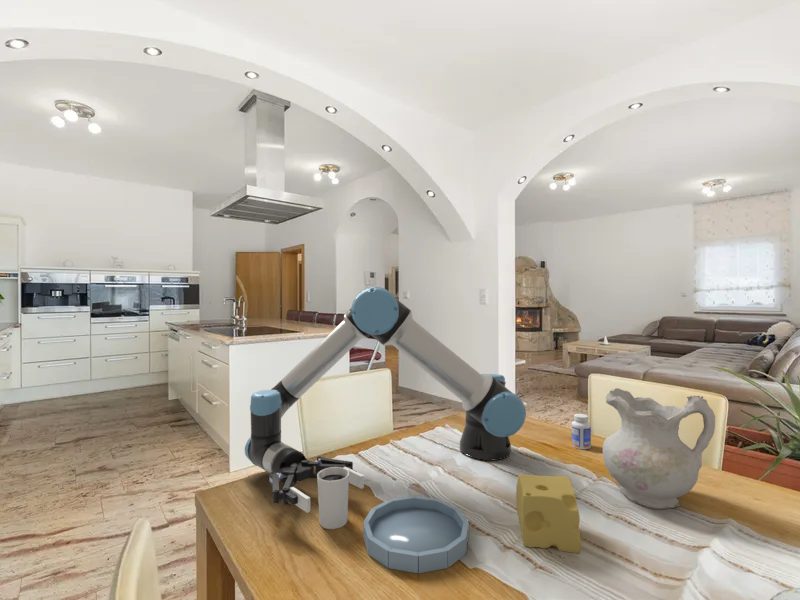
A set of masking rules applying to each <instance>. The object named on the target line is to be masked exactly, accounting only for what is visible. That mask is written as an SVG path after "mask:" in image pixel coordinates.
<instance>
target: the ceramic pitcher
mask: <svg viewBox="0 0 800 600" xmlns="http://www.w3.org/2000/svg"><path fill="white" fill-rule="evenodd" d="M686 399H687V402H686V403H685V405H684V406H683V407H678V406H675V405H663V404H661V403H659V402H658V401H655V400H654V399H653V398H651V397H644V396H643V397H642V396H641V397H635V396H633V394H632V393H631V392H630V391H628V390H624V389H621V388H617V387H616V388H613V389H611V390H609V392H608V393H607V394H606V396H605V403H606V404H607V405H609V406H610V407H613V408H614V409H615V410H616V411H617V412H618V414H619V417H620V419H621V423H620V424H621V425H620V428H619V429H618V430H617V431H616V432H614V433H612V434H610V435H608V436H607V437H606V438H605V440H604V441H603V445H602V458H603V463H604V466H605V468H606V470H607V471H608V473H609V474H610V476H611V477H612V478H613V479H614V480H615V481H616V482H617V483H618V484H617V488H618V487H619V488H620V489H619V488H618V489H619V490H620V492H621V493H622V494H623V495H624V496H625V497H626V498H627V499H628V500H629V501H631V502H632V503H636V504H637V505H640V506H644V507H647V508H649V509H652V510H662V509H663V510H665V509H674V508H677V507H680V506H681V504H680V502H679V500H678V498H679V497H680V498H681V497H683V496H685V495H686V494H688V493H689V492H690V491H692V489H693V488H694V486H695V485H696V483H697V481H698V479H699V472H700V469H701V468H702V466H703V465H702V464H703V462H702V459H703V453H704V451H705V450H706V449H707V448H708V446H709V444H710V442H711V439H712V438H713V437H714V434H715V430H716V414H715V412H714V410H713V409H712V407H710V405H709V403H708V401H707V399H704V396H700V395H689V396H686ZM698 413H699V414H700V415H701V416H702V419H703V420H702V421H703V428H702V431H701V432H700V434H699V436H698V438H697V440H696V443H695V445H694V447H693V448H690V447H689V446H688V445H687V444H685V443H684V442H683V441H682V440H681V438H680V436H679V429H680V423H681V421H682V419H685V418H687V417H688V416H691V415H693V414H698Z"/></svg>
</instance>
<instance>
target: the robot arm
mask: <svg viewBox="0 0 800 600" xmlns="http://www.w3.org/2000/svg"><path fill="white" fill-rule="evenodd" d="M412 313H413V312H412V310H411V309H410V308H409V307H407V306H406V305H405V304H404V303H402V302H401V301H400V300H399V299H398V298H396V297H395V295H394V294H393V293H392V292H390V291H389V290H387V289H386V288H384V287H381V286H380V287H379V286H370V287H367V288H364V289H363V290H361V291H360V292H359V293H358V294H357V295H356V297H355V298H354V300H353V301H352V305H351V307H350V309H348V310H347V312H346V313H344V314H343V320H342V321H341V322H339V324H338V325H337V326H336V327H335V328H334V329H333V330H332V331H331V332H330V333H328V335H326V337H325V338H324V339H322V341H320V342H319V343H318V344H317V345H316V346H314V348H313V349H312V350H311V351H310V352H309V353H308V354H307V355H306V356H305V357H304V358H302V360H301V361H299V362H298V363H297V364H296V365H295V366H294V367H293V368H292V369H291V370H290V371H289V372H288V373H287V374H286V375H284V377H283V378H282V379H281V380H280V381H278V383H276V385H275V386H273V387H272V388H271V389H262V390H258V391H255V392H253V393H252V395H250V405H249V411H250V437H249V438H248V439H247V440H246V441H247V442H246V443H245V446H244V455H245V456H246V458H247V460H249V461H250V462H251V463H252V464H253V465H254V466H257V467H258V468H260V469H262V470H264V471H265V472H267V473H268V474H269V475H268V477H269V486H271V487H272V503H273V504H279V503H280V501H282V505H283V506H287V505H289V504H290V505H291V506H292V505H293V506H294V505H295V506H297V507H298V508H299V509H301V510H302V511H303V512H305V513H307V514H308V513H310V512H311V497H310V496H309V495H307V494H305V493H304V492H302V491H300V490H299V489H297V488H296V484H297V482H302V481H303V482H304V480H307V479H317V474H318V473H319V472H320V471H321V470H323V469H326V468H330V467H341V468H344V469H347V470H348V471H349V483H350V484H351V485H353V486H355V487H356V488H359V489H361V490H362V489H364V488H365V479H364V478H365V475H363V474H362V473H360V472H358V471H356V469H354V463H353V461H349V460H342V459H335V458H327V457H324V456H323V455H322V456H321V455H319V456H317V457H316V460H314V461H313V460H309V459H307V458H306V456H305V455H304V453H303V452H301V451H299V450H297V449H296V448H293V446H290V445H288V444H286V443H283V442H282V418H283V417H284V415H285V414H286V412H287V411H288V410H289V409H291V407H292V406H293V405H294V404H295V403H296V402H297V401H298V400H299V399H300V398H301V397H302V396H303V395H305V393H307V392H308V390H310V389H311V387H313V386H314V385H315V384H316V383H317V382H318V381H319V380H320V379H321V378H322V377H323V376H324V375H325V374H326V373H328V372H329V370H331V368H332V367H334V366H335V365H336V364H337V362H339V361H340V360H341V359H342V358H343V357H344V356H346V355H347V353H348V352H350V351H351V349H353V348H354V346H356V345H358V343H359V342H360V341H361V340H362V339H368V338H369V337H370V336H371V337H372V338H374V339H375V340H376V341H377V342H379V343H380V344H381V345H382V346H393V347H394V348H396V349H397V350H398V351H399V352H401V353H402V354H403V355H404V356H405V357H407V358H408V359H410V360H411V361H412V362H413V363H415V365H417V366H418V367H419V368H420V369H422V370H423V371H425V372H426V373H427V374H428V375H429V376H431V378H433V379H434V380H436V381H437V382H438V383H439V384H441V386H443V387H444V388H445V389H446V390H447V391H449V392H450V393H452V395H454V396H455V397H457V398H458V399H459V400H460V401H461V404H462V406H461V407H462V409H463V410H464V411H465V425H464V428H463V431H462V435H461V437H460V440H459V451H460V452H461V453H462V454H463V453H465V454H468V455H470V456H472V457H473V458H472V459H475V458H477V459H476V460H480V459H483V461H493V460H492V459H500V458H504V457H507V456H508V457H510V456H509V455H511V454H512V444H511V441H510V438H509V437H511V436H514V435H515V434H516V433H518V432H519V431H520V430H521V428H522V427H523V426H524V424H525V422H526V417H527V413H526V412H527V410H526V407H525V404H524V402H523V400H522V399H521V397H519V395H517V394H515V393H513V392H512V391H511V390H510V389H508V387H506V378H505V376H504V375H502V374H496V373H495V374H494V373H493V374H492V373H479V371H477V370H476V369H475V368H474V367H472V366H471V365H470V364H468V362H466V361H465V360H463V359H462V358H461V357H460V356H459V355H457V354H456V353H455V352H454V351H453V350H451V349H450V348H449V347H447V346H446V344H444V343H443V342H442V341H440V340H439V339H437V338H436V337H435V336H434V335H433V334H431V333H430V332H429V331H428V330H427V329H425V327H423V326H422V325H421V324H419V323H418V322H416V320H414V319H413V314H412ZM510 453H511V454H510ZM508 457H507V458H508ZM504 459H505V458H504ZM500 460H501V459H500ZM314 472H315V473H314ZM280 482H282V483H284V485H283V487H282V489H281V490H280Z"/></svg>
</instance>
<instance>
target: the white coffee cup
mask: <svg viewBox="0 0 800 600" xmlns="http://www.w3.org/2000/svg"><path fill="white" fill-rule="evenodd" d="M316 479H317V480H316V481H317V482H316V483H317V495H318V496H317V498H318V516H319V519H318V520H319V525H320V526H321V527H322V528H324V529H328V530H336V529H340V528H343V526H345V525H346V524H347V523H348V513H349V511H348V509H349V507H348V506H349V471H348V470H347V469H344V468H341V467H330V468H326V469H323V470H321V471H320V472H319V473H318V474H317V478H316Z"/></svg>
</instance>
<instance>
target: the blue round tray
mask: <svg viewBox="0 0 800 600" xmlns="http://www.w3.org/2000/svg"><path fill="white" fill-rule="evenodd" d="M468 537H469V538H470V522H469V520H468V519H467V517H466V516H465V515H464V514H463V512H462V511H461V510H460V509H459V507H457V506H456V505H453V504H451V503H449V502H446V501H444V500H442V499H440V498H434V497H429V496H427V497H426V496H422V495H421V496H419V495H410V496H409V495H408V496H402V497H394V498H390V499H388V500H386V501H383V502H382V503H380V504H377V505H376V506H374V507H371V509H370V510H369V512H368V513H367V515H366V517H365V519H364V520H363V521H362V538H363V542H364V546H365V549H366V552H367V555H369V556H370V557H372V558H373V559H374V560H376V561H377V562H378V563H380V564H381V565H382V566H384V567H385V568H387V569H391V570H396V571H400V572H401V571H402V572H408V573H413V574H424V573H429V572H435V571H440V570H443V569H444V570H445V569H448V568H450V567H451V566H452V565H453V564H455V563H456V562H458V561H459V560H460V559H462V558H463V557H464V556H465V555H467V552H468V551H467V550H468V545H467V542H468V543H469V539H468Z"/></svg>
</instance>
